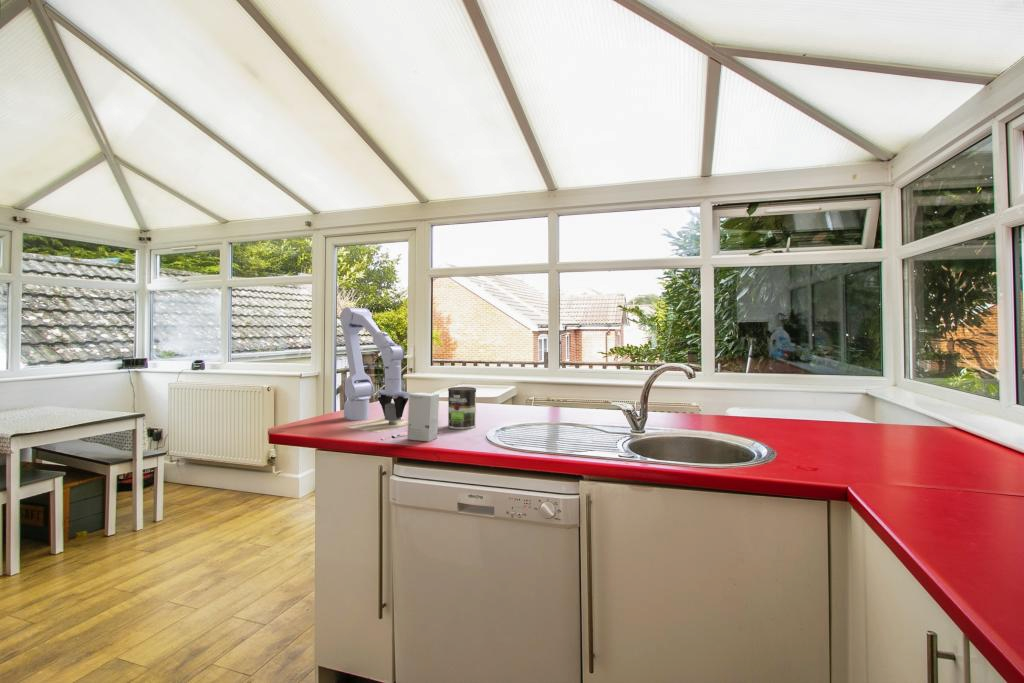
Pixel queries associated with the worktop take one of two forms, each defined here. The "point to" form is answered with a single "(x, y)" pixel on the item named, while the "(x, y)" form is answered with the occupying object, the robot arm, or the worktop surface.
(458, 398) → the coffee can
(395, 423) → the post
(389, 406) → the cap
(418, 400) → the skincare box
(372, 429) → the beige cloth
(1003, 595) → the worktop surface
